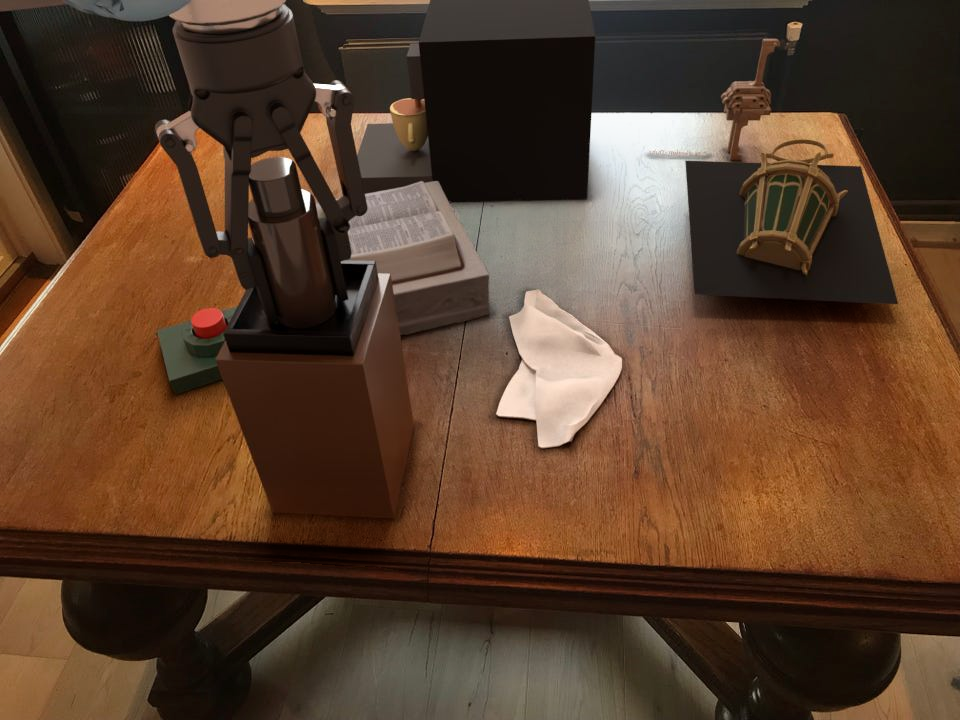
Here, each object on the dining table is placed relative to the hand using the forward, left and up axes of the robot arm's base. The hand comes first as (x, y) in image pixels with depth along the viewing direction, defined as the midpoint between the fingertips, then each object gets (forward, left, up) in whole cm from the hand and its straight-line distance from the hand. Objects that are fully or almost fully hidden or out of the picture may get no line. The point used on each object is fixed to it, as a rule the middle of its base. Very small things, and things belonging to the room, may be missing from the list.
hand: (305, 302), depth 64 cm
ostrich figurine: (+71, +35, -21) cm, 82 cm away
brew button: (-8, +24, -18) cm, 31 cm away
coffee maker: (+37, +49, -21) cm, 65 cm away
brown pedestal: (0, 0, -21) cm, 21 cm away
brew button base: (-8, +24, -21) cm, 33 cm away
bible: (+16, +28, -21) cm, 39 cm away
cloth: (+27, +3, -21) cm, 34 cm away
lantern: (+62, +10, -21) cm, 67 cm away
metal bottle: (0, 0, -1) cm, 1 cm away
